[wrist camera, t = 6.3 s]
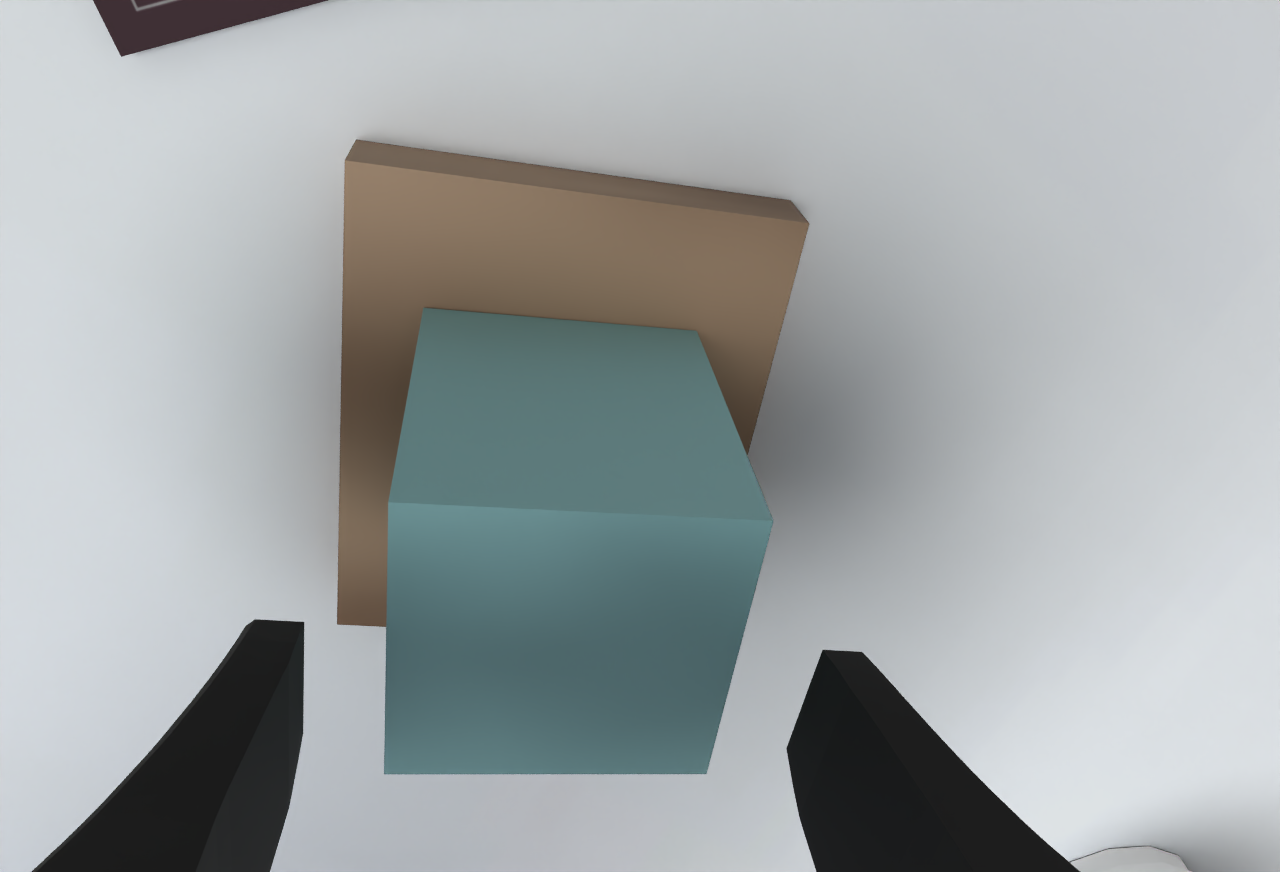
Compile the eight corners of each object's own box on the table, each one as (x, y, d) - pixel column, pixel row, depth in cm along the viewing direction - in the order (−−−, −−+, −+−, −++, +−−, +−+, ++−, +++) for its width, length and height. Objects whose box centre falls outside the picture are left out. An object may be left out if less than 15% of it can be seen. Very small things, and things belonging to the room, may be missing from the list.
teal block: (655, 543, 20) (706, 773, 15) (415, 533, 19) (384, 774, 14) (696, 331, 18) (773, 520, 13) (423, 307, 17) (388, 501, 12)
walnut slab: (684, 585, 24) (697, 641, 22) (350, 565, 22) (337, 624, 20) (782, 190, 19) (809, 223, 17) (361, 130, 17) (345, 160, 16)
